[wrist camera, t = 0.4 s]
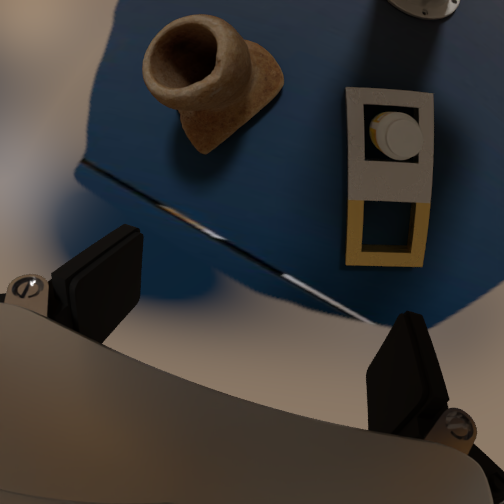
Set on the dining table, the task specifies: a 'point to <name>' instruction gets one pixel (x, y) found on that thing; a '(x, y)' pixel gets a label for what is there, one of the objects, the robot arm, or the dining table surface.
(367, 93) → the holder
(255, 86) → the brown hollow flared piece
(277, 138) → the dining table surface
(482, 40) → the dining table surface
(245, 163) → the dining table surface
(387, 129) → the supplement bottle
